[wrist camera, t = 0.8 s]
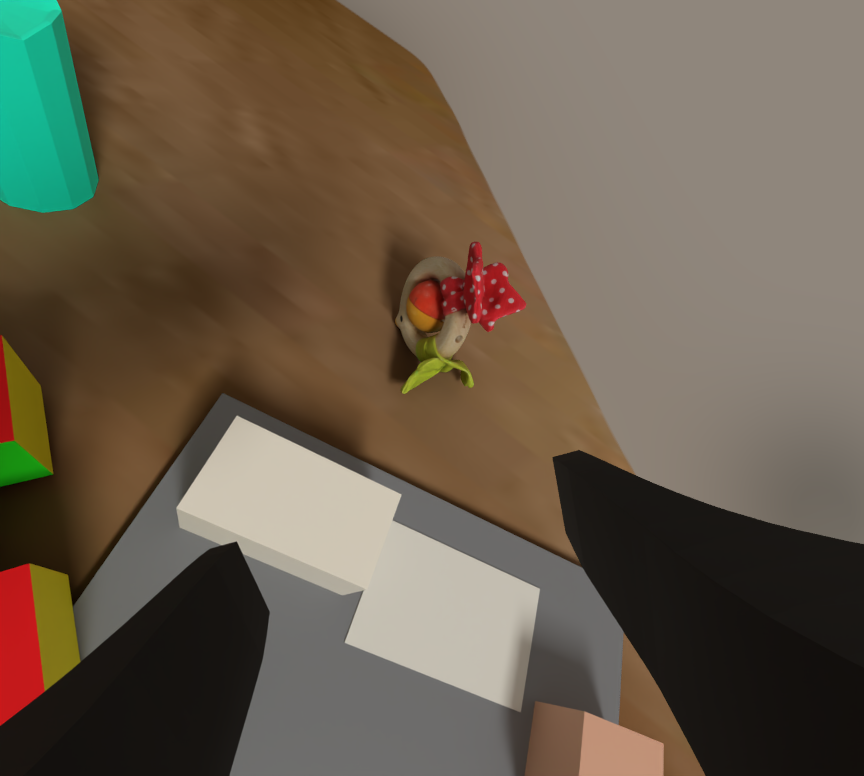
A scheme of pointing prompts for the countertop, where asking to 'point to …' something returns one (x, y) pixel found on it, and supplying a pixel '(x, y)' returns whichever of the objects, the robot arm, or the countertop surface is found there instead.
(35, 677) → the building blocks toy
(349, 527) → the cream brick
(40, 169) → the candle
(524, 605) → the baseplate
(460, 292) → the bird rattle
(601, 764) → the terracotta brick
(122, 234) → the countertop surface
